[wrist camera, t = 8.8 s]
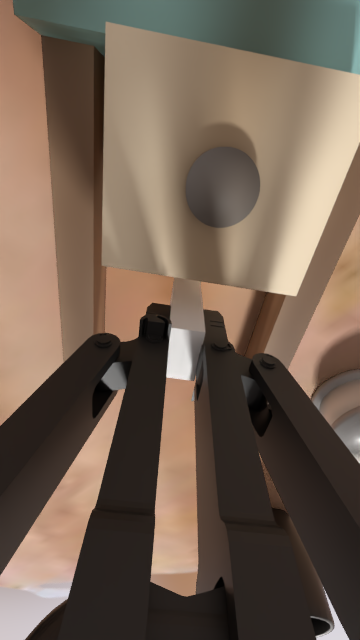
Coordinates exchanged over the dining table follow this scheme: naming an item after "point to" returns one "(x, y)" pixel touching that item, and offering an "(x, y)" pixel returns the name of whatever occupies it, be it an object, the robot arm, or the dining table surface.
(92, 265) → the channel
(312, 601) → the mug
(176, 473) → the dining table surface
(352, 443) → the gray yo-yo
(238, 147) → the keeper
